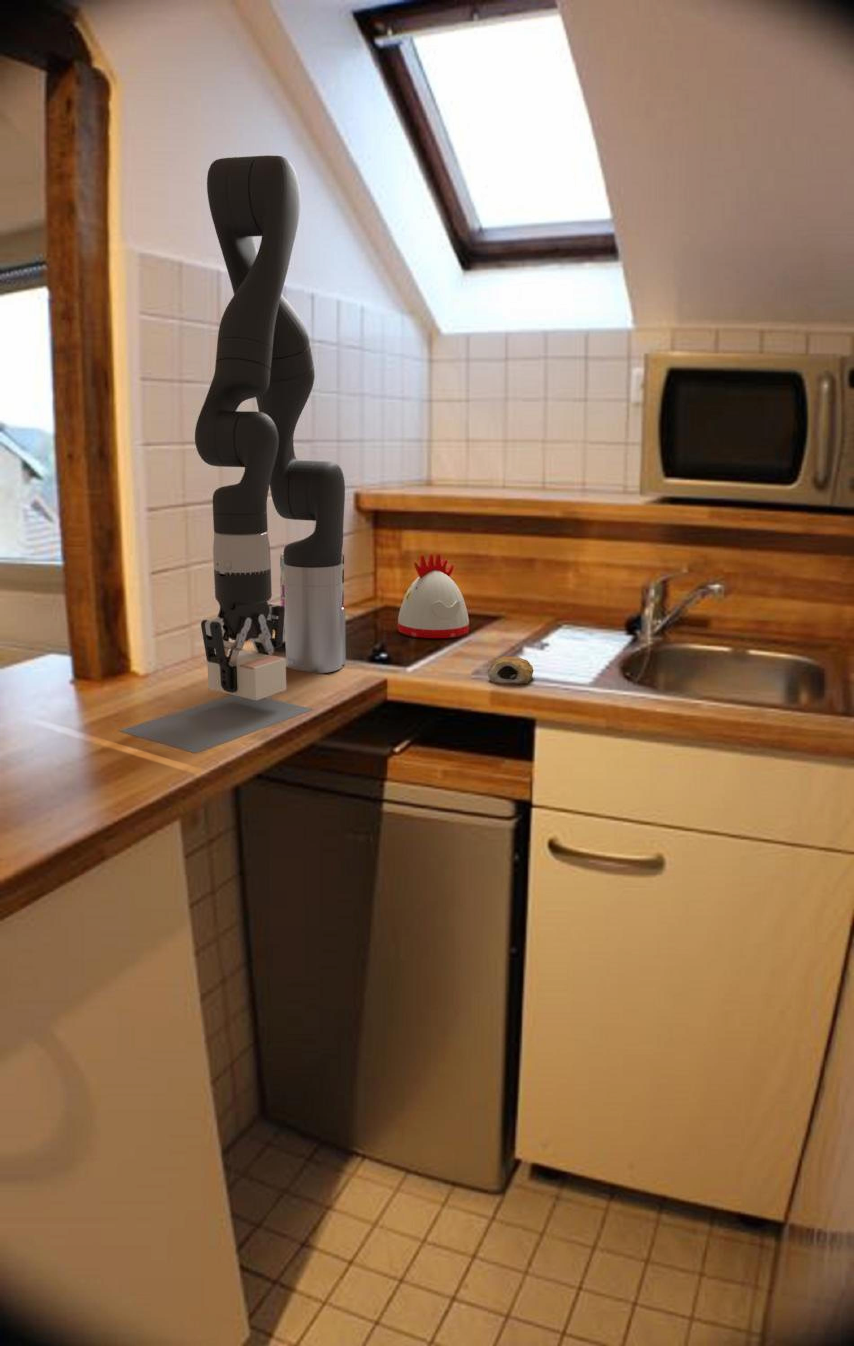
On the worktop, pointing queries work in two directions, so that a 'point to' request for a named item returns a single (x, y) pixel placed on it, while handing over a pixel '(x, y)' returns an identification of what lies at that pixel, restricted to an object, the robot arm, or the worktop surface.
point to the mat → (215, 722)
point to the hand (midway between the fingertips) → (247, 685)
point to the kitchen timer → (433, 603)
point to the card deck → (253, 675)
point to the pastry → (511, 670)
